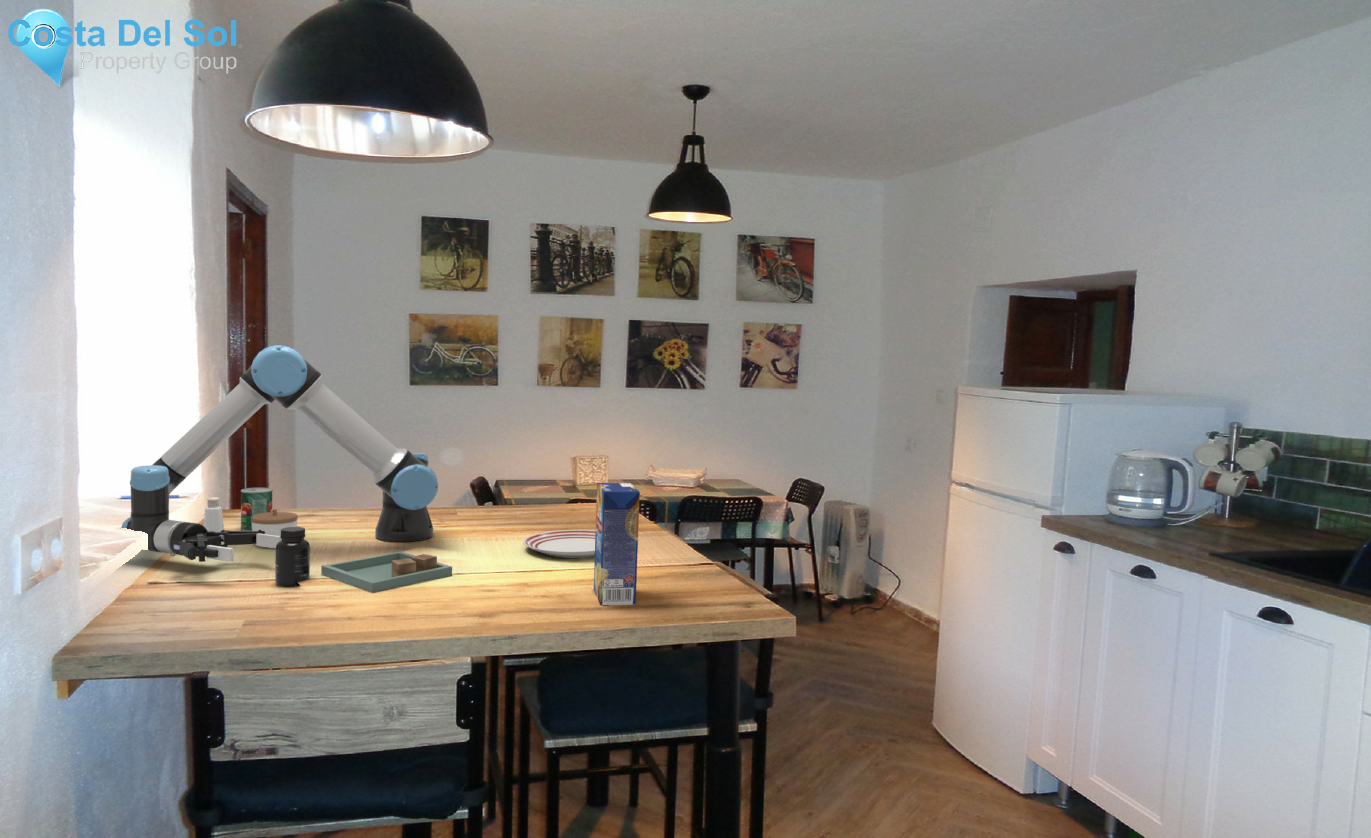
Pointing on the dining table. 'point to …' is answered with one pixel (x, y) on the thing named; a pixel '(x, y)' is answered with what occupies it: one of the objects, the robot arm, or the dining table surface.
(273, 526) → the lidded jar
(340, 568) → the tray
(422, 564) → the walnut block
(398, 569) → the walnut block
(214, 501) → the pepper shaker
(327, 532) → the dining table surface
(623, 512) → the juice carton
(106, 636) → the dining table surface
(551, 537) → the dinner plate
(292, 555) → the supplement bottle
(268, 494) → the canned tomato
